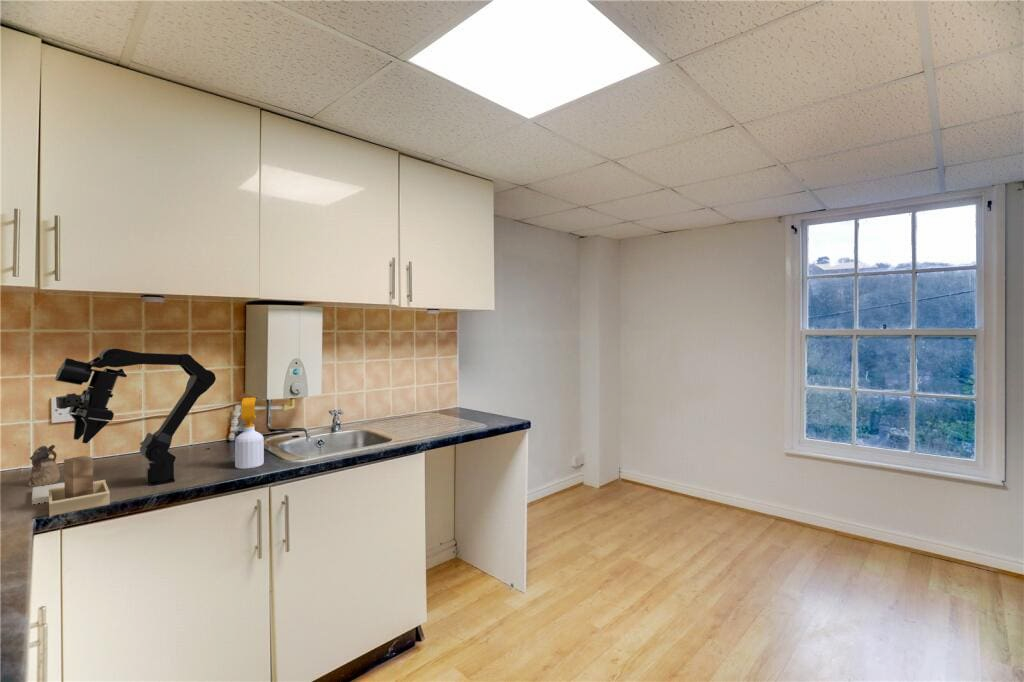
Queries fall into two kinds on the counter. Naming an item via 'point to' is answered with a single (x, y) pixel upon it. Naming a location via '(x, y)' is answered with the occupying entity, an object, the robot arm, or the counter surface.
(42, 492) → the tile
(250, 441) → the soap bottle
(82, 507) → the light wooden tray
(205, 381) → the robot arm
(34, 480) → the figurine
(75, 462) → the walnut box
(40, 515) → the counter surface
